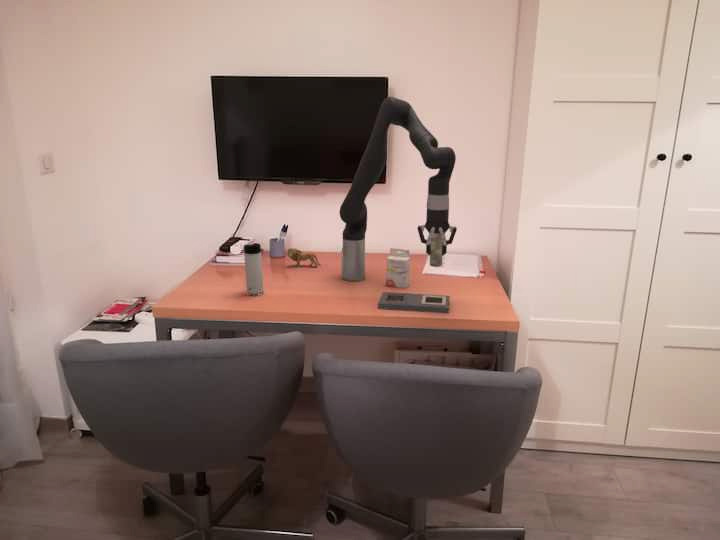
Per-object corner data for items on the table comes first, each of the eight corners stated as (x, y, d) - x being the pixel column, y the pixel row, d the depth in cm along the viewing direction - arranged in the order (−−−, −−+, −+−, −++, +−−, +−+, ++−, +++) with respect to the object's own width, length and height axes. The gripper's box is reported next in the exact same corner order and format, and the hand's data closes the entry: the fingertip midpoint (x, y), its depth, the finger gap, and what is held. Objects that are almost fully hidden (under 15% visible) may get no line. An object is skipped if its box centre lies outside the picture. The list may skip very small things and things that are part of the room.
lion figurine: (288, 269, 235) (287, 249, 232) (288, 265, 240) (287, 246, 237) (321, 267, 237) (320, 248, 234) (320, 264, 242) (320, 245, 239)
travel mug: (250, 297, 201) (246, 246, 195) (245, 292, 207) (241, 242, 201) (266, 294, 204) (262, 244, 198) (260, 289, 210) (257, 240, 204)
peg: (429, 266, 186) (430, 233, 183) (429, 262, 191) (430, 230, 187) (441, 267, 186) (443, 233, 182) (442, 263, 190) (443, 230, 186)
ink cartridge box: (385, 286, 213) (386, 250, 209) (389, 282, 218) (389, 247, 213) (406, 288, 211) (407, 252, 206) (409, 284, 215) (410, 249, 211)
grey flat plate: (378, 308, 191) (378, 302, 190) (382, 296, 202) (382, 291, 201) (448, 313, 186) (448, 307, 185) (449, 300, 197) (449, 295, 197)
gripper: (459, 205, 184) (456, 252, 189) (417, 204, 186) (416, 251, 192) (459, 209, 177) (456, 258, 182) (416, 208, 179) (414, 257, 185)
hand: (436, 254), depth 187 cm, fingers closed on peg, 4 cm apart
